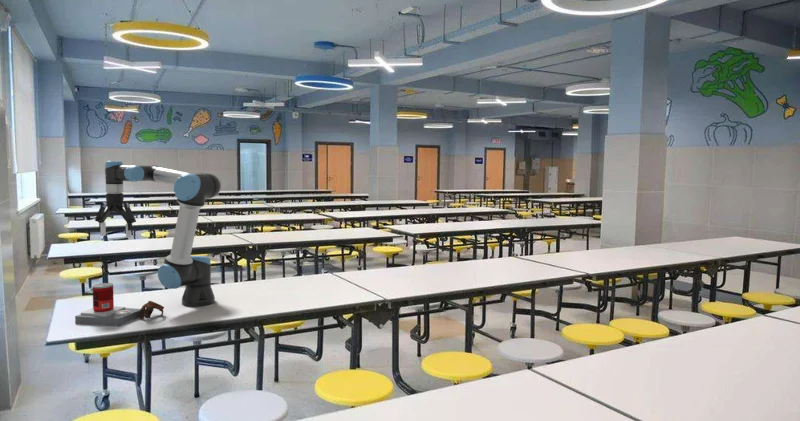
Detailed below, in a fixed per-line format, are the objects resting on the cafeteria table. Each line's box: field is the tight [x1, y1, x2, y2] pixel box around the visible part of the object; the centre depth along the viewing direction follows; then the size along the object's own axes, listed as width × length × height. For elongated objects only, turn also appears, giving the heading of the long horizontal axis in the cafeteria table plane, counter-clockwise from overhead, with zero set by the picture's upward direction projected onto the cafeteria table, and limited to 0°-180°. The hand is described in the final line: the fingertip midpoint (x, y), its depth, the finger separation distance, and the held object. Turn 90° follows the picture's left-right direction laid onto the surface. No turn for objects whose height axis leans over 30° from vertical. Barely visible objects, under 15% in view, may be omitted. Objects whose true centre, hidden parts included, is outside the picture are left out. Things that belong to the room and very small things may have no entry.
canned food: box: [92, 282, 115, 312], centre depth 232 cm, size 8×8×11 cm
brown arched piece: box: [138, 300, 165, 320], centre depth 235 cm, size 12×10×8 cm
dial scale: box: [74, 306, 141, 327], centre depth 232 cm, size 20×16×4 cm
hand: (115, 236), depth 261 cm, fingers open, 13 cm apart
